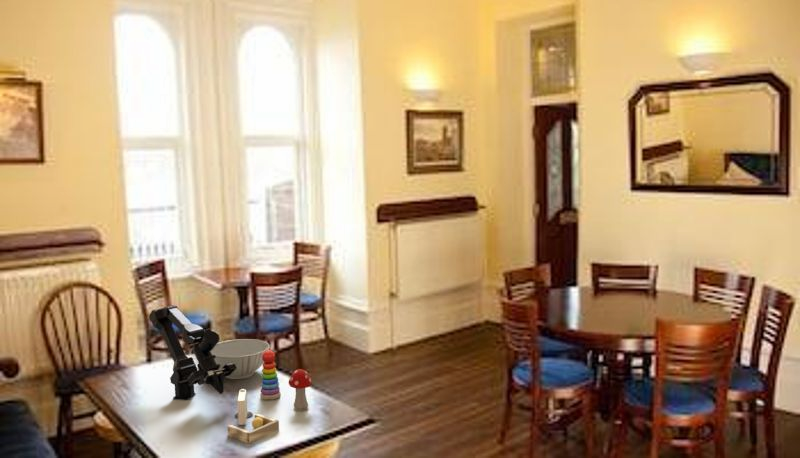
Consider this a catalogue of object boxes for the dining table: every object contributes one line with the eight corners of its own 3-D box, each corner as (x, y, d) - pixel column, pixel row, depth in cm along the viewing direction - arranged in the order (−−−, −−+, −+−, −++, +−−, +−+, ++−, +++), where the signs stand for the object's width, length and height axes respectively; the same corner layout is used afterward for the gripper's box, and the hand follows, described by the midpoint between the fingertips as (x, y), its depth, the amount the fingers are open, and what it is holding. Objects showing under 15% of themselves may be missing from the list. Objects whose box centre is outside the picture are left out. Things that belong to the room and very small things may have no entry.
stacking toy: (284, 394, 271) (282, 348, 269) (274, 401, 264) (272, 354, 262) (266, 392, 274) (265, 347, 272) (256, 399, 266) (254, 352, 264)
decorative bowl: (263, 384, 283) (262, 356, 281) (199, 385, 283) (198, 357, 282) (276, 364, 309) (275, 338, 308) (217, 365, 310) (216, 339, 308)
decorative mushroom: (286, 405, 260) (285, 367, 258) (308, 401, 263) (307, 364, 261) (293, 414, 251) (291, 375, 249) (315, 410, 254) (314, 371, 252)
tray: (228, 435, 233) (227, 425, 232) (257, 422, 243) (257, 413, 243) (249, 443, 226) (249, 433, 226) (279, 430, 237) (278, 420, 236)
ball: (251, 430, 235) (248, 422, 238) (260, 432, 238) (256, 424, 241) (259, 422, 235) (255, 413, 238) (267, 424, 238) (263, 416, 241)
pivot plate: (231, 415, 250) (231, 415, 250) (245, 410, 255) (245, 409, 255) (241, 420, 246) (241, 419, 246) (256, 415, 251) (256, 414, 251)
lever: (238, 425, 240) (237, 399, 239) (240, 413, 251) (239, 389, 250) (245, 424, 241) (244, 399, 240) (247, 413, 251) (246, 388, 250)
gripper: (214, 364, 268) (231, 398, 263) (173, 373, 253) (190, 410, 248) (228, 349, 263) (245, 384, 258) (188, 357, 248) (205, 394, 243)
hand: (222, 393), depth 252 cm, fingers closed
